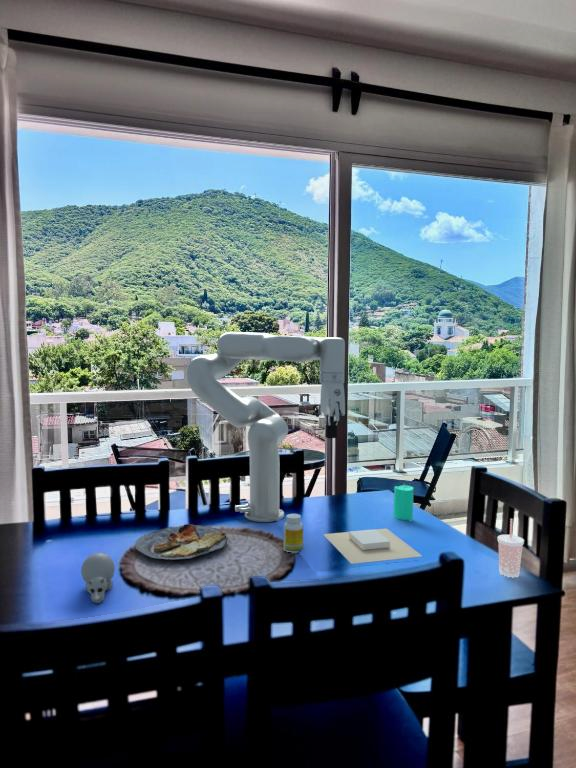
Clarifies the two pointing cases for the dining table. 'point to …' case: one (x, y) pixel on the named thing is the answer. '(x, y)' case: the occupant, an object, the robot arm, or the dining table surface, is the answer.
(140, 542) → the food plate
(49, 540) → the dining table surface
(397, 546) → the cork mat
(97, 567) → the round bodied animal figurine
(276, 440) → the robot arm
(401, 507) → the candle
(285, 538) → the supplement bottle
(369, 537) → the tile
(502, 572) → the beverage cup
